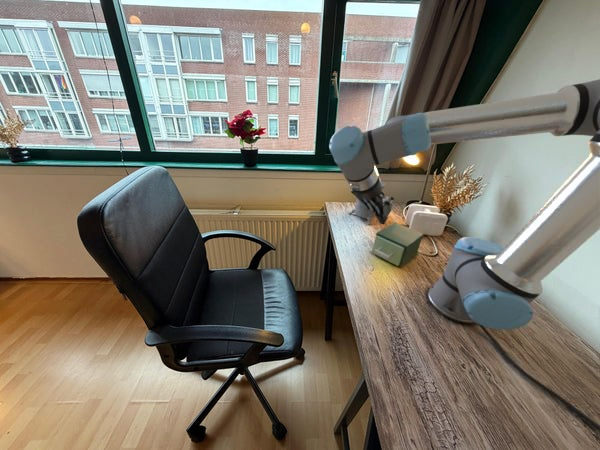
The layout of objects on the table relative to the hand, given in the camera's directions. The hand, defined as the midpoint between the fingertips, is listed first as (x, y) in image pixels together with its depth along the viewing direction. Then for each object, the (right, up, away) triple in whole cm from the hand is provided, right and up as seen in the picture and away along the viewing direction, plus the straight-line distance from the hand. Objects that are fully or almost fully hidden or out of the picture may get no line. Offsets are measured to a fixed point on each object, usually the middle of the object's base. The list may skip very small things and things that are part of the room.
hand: (383, 220), depth 81 cm
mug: (+7, +3, +51) cm, 51 cm away
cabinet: (+12, -13, +21) cm, 28 cm away
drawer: (+9, -14, +18) cm, 25 cm away
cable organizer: (+33, -4, +41) cm, 52 cm away
